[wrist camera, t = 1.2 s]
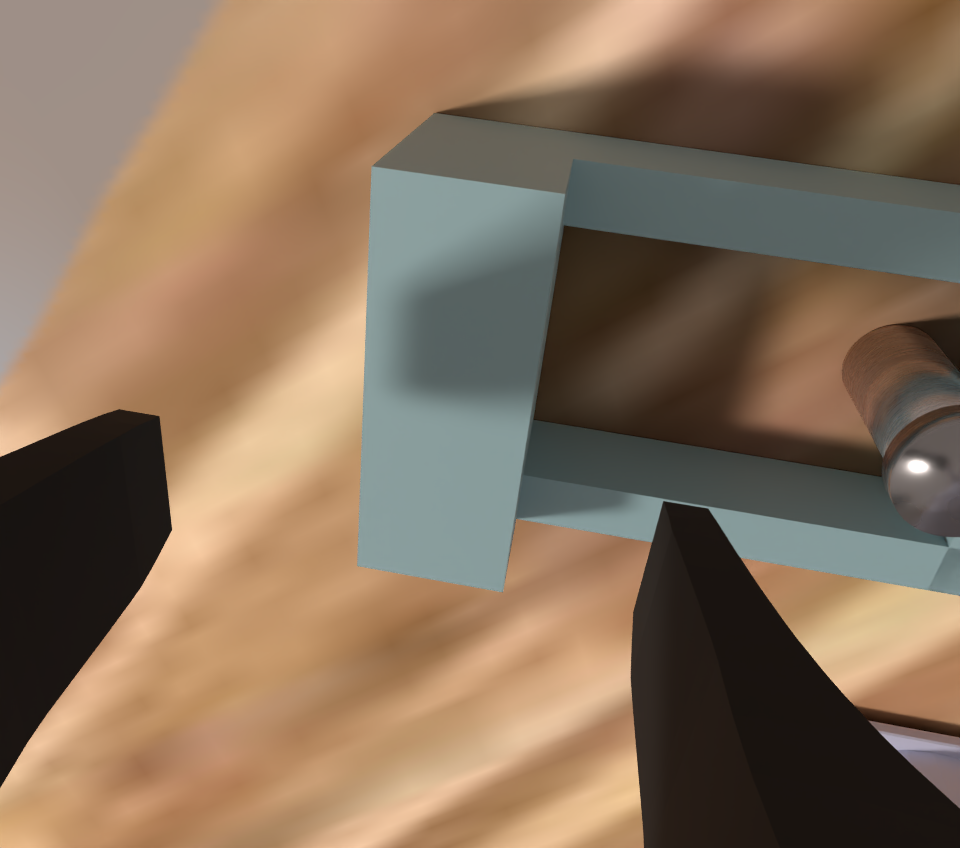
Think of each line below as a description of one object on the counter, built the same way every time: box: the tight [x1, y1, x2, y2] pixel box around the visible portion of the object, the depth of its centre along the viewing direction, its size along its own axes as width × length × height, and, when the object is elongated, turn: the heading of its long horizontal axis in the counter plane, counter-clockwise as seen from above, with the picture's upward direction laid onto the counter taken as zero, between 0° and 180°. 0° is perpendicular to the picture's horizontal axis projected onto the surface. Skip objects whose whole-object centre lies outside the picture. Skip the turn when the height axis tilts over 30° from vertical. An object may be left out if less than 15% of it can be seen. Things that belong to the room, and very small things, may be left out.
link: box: [357, 113, 960, 596], centre depth 16 cm, size 13×8×5 cm, turn 84°
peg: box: [842, 325, 960, 537], centre depth 16 cm, size 2×2×5 cm
